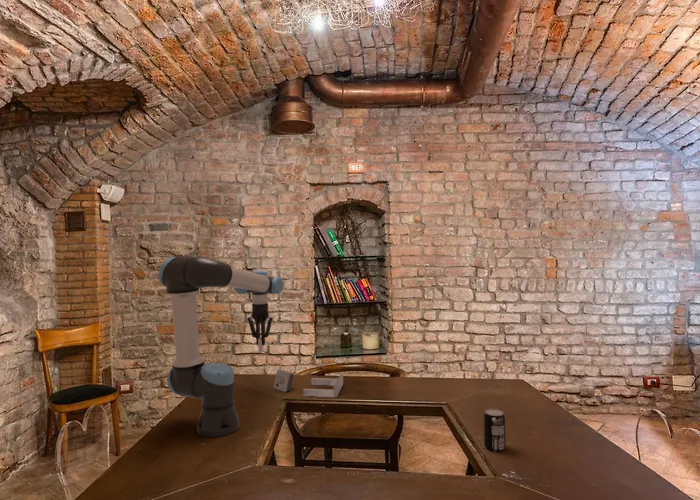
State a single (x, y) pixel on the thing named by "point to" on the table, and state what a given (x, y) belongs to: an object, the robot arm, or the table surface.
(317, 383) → the aluminium bracket
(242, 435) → the table surface
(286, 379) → the electrical switch
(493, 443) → the beverage can
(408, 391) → the table surface
